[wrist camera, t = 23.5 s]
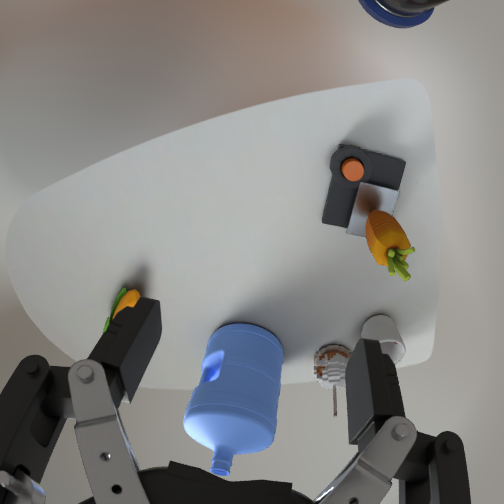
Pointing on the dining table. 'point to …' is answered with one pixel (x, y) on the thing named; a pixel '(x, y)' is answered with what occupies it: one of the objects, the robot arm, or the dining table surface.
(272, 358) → the water jug
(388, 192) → the plate
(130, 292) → the corn
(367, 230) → the carrot
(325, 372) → the caramel apple
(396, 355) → the cup
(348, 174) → the button
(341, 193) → the scale
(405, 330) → the dining table surface
